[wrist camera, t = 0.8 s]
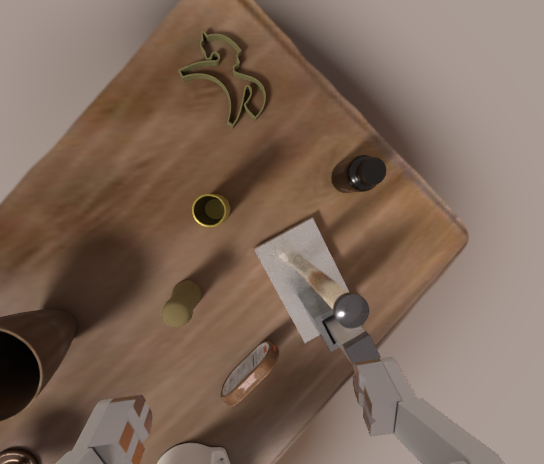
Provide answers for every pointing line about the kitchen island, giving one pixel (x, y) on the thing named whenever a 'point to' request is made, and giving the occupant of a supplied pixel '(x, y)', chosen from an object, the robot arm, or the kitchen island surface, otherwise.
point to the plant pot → (30, 355)
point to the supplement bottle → (358, 174)
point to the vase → (211, 209)
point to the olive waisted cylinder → (181, 304)
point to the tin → (249, 373)
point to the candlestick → (17, 457)
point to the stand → (310, 282)
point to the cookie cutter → (204, 76)
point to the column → (351, 341)
